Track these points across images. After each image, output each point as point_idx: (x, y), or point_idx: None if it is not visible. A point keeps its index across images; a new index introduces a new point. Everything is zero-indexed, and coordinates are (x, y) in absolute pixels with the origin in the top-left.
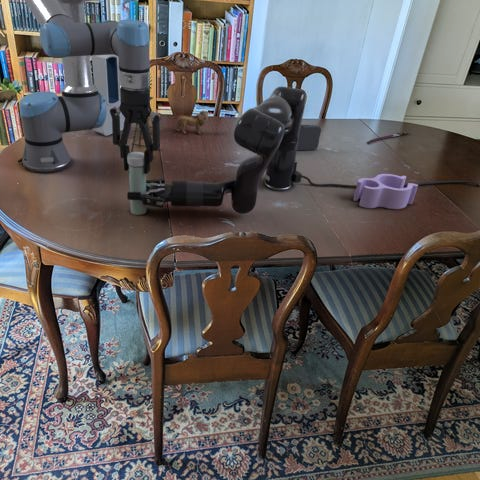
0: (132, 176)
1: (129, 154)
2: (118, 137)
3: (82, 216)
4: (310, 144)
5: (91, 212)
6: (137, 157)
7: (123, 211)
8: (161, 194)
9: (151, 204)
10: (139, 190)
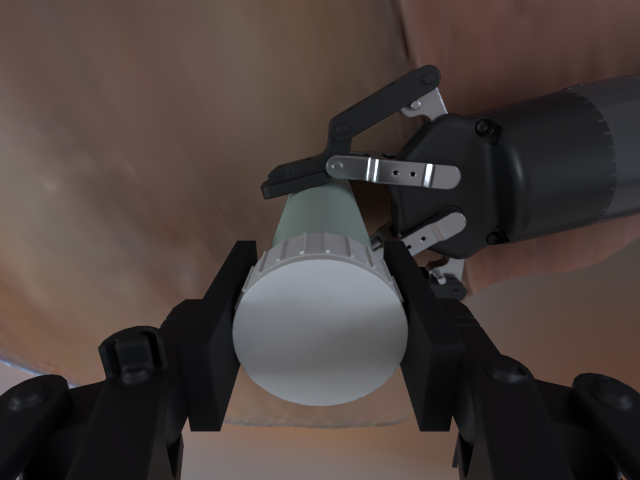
0: None
1: (250, 343)
2: (18, 456)
3: (157, 285)
4: None
5: (168, 254)
6: (340, 374)
7: (268, 214)
8: (449, 250)
9: None
10: None
